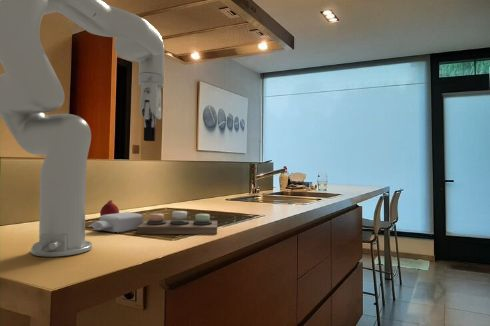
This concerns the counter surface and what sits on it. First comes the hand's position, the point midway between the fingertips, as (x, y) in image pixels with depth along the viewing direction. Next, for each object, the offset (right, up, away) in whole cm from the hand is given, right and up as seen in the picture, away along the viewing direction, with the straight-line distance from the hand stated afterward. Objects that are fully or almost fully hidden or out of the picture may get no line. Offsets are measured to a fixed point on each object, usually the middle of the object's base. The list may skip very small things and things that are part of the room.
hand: (149, 140), depth 113 cm
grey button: (+9, -24, -1) cm, 25 cm away
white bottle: (-10, -28, -3) cm, 30 cm away
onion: (-15, -27, +8) cm, 32 cm away
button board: (+9, -28, -1) cm, 29 cm away
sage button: (+16, -25, 0) cm, 30 cm away
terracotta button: (+2, -24, -1) cm, 25 cm away
